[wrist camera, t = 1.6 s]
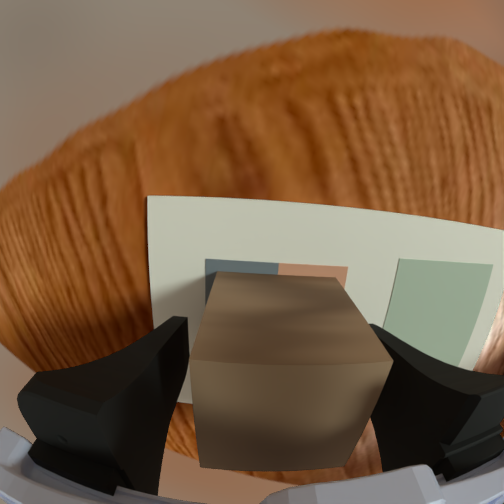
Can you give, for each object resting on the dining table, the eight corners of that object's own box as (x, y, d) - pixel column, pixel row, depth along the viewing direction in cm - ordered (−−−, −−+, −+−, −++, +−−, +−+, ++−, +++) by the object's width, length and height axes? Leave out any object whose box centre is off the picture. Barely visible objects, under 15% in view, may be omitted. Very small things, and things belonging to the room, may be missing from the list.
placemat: (514, 232, 12) (517, 233, 11) (463, 383, 15) (465, 385, 14) (149, 195, 11) (147, 196, 11) (165, 397, 14) (164, 400, 14)
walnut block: (335, 277, 12) (393, 360, 6) (317, 369, 13) (344, 466, 8) (217, 270, 12) (188, 359, 6) (216, 366, 13) (200, 467, 8)
